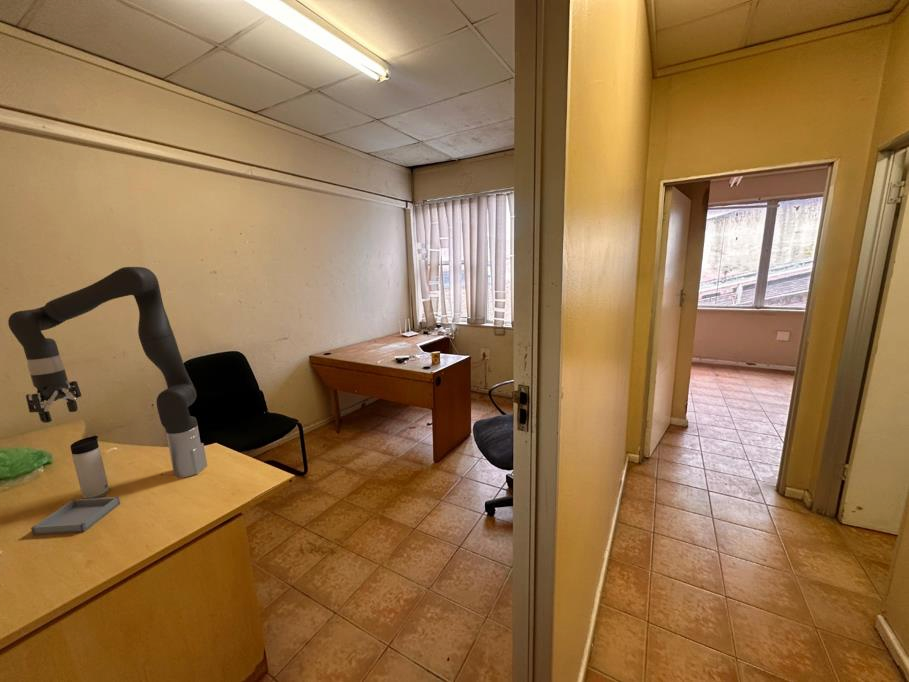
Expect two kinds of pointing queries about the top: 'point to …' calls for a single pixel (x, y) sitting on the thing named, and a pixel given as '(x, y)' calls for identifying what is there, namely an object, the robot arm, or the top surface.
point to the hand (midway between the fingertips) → (60, 416)
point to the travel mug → (89, 468)
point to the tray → (76, 516)
